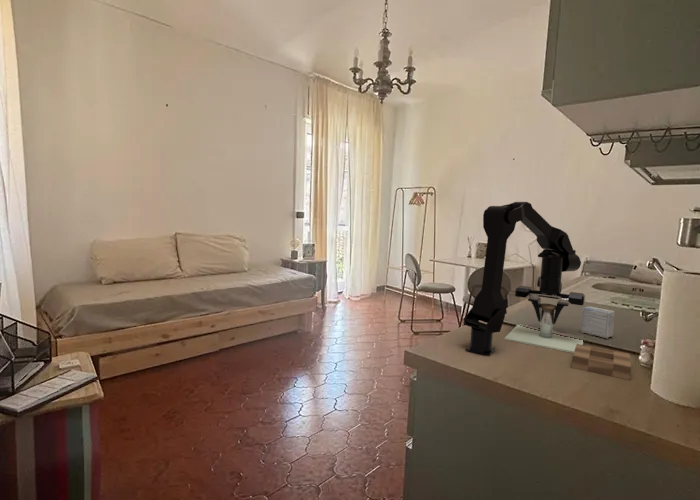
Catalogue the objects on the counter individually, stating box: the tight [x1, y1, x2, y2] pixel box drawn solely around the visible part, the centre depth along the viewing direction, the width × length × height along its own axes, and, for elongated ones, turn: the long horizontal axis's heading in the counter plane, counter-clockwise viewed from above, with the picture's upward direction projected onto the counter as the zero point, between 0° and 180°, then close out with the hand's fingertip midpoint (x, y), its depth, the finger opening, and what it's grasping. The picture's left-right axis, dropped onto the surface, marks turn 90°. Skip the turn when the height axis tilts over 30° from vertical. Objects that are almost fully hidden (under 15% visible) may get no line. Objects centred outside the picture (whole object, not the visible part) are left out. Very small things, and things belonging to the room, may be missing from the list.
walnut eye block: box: [571, 344, 632, 381], centre depth 103 cm, size 12×12×3 cm
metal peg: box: [539, 302, 557, 337], centre depth 125 cm, size 5×5×10 cm
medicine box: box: [580, 305, 616, 337], centre depth 131 cm, size 8×4×9 cm, turn 35°
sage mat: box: [503, 324, 584, 354], centre depth 126 cm, size 20×20×1 cm
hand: (546, 322), depth 125 cm, fingers closed on metal peg, 4 cm apart
